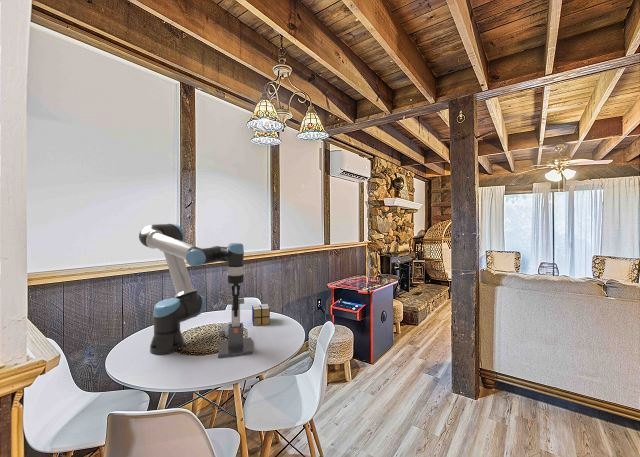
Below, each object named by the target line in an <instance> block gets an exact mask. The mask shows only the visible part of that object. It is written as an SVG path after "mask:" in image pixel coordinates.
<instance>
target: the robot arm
mask: <svg viewBox="0 0 640 457" xmlns="http://www.w3.org/2000/svg"><path fill="white" fill-rule="evenodd" d="M138 240H139V242H140V243H141V244H142V245H143V246H145V247H147V248H148V249H153V250H154V249H158V250H159V251H160V252H163V255H164V259H165V261H166V264H167V267H168V271H169V275H170V278H171V280H172V284H173V287H174V292H175V295H174V297H171V298H165V299H163V300H160V301H158V302H157V303H156V304H155V305H154V307H153V312H152V314H153V336H152V340H151V342H150V345H149V352H150V353H151V354H154V355H165V354H167V355H168V354H171V353H175V352H177V351H179V350H180V349H179V348H181V347H182V346H183V345H184V346H185V339H184V337H183V334H182V332H181V323H182V322H185V321H188V320H191V319H195V317H196V318H197V317H198V316H200V315H202V313H203V312H204V310H205V308H206V301H205V297H204V296H203V295H202V294H200V293H198V291H197V289H195V288H194V287H193V285H192V281H191V277H190V275H189V271H188V268H187V265H186V263H187V264H188V266H191V267H200V266H203V265H208V264H213V263H219V262H222V263H223V262H224V263H227V283H229V284H230V285H231V284H232V285H231V291H232V292H231V295H232V299H233V309H232V308H231V311H232V310H233V323H239V308H238V298H239V296H240V290H241V287H240V286H241V285H239V284H242V283H243V282H245V280H244V279H245V277H244V270H246V268H245V267H244V258H245V256H244V255H245V252H244V250H245V249H244V248H245V247H244V244H243V243H240V242H238V243H237V242H234V243H233V242H231V243H229V244H227V246H221V245H220V246H219V245H212V246H210V247H204V248H202V247H198V246H196V245H194V244H190V243H188V242H184V240H185V233H184V230H183V228H182V227H181V226H180V225H178V224H175V223H164V224H163V223H162V224H161V223H157V224H155V223H153V224H147V225H145V226H144V227H142V228H141V230H140V231H139V234H138ZM184 346H183V347H184ZM183 347H182V348H183ZM182 348H181V349H182ZM178 349H179V350H178Z"/></svg>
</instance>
